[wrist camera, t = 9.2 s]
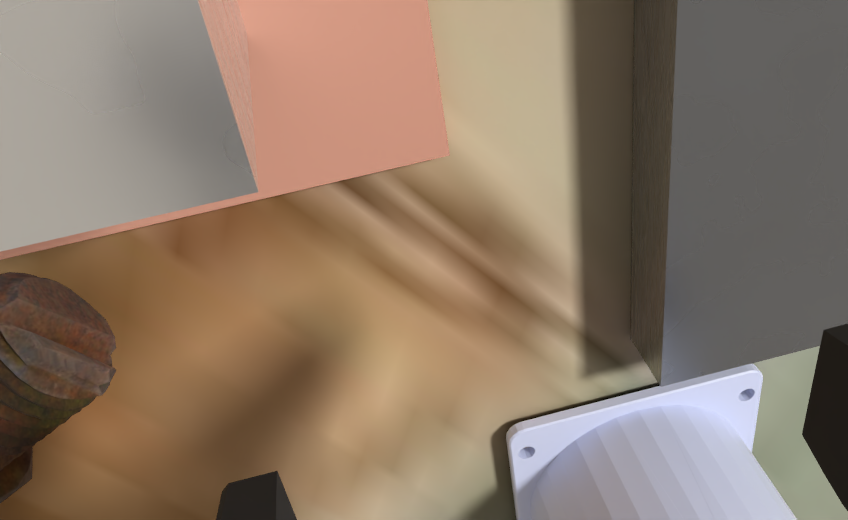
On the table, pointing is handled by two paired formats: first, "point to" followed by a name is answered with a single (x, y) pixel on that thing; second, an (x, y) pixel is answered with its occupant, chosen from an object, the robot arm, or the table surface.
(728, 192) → the block
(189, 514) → the table surface
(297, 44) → the mat
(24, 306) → the bolt
